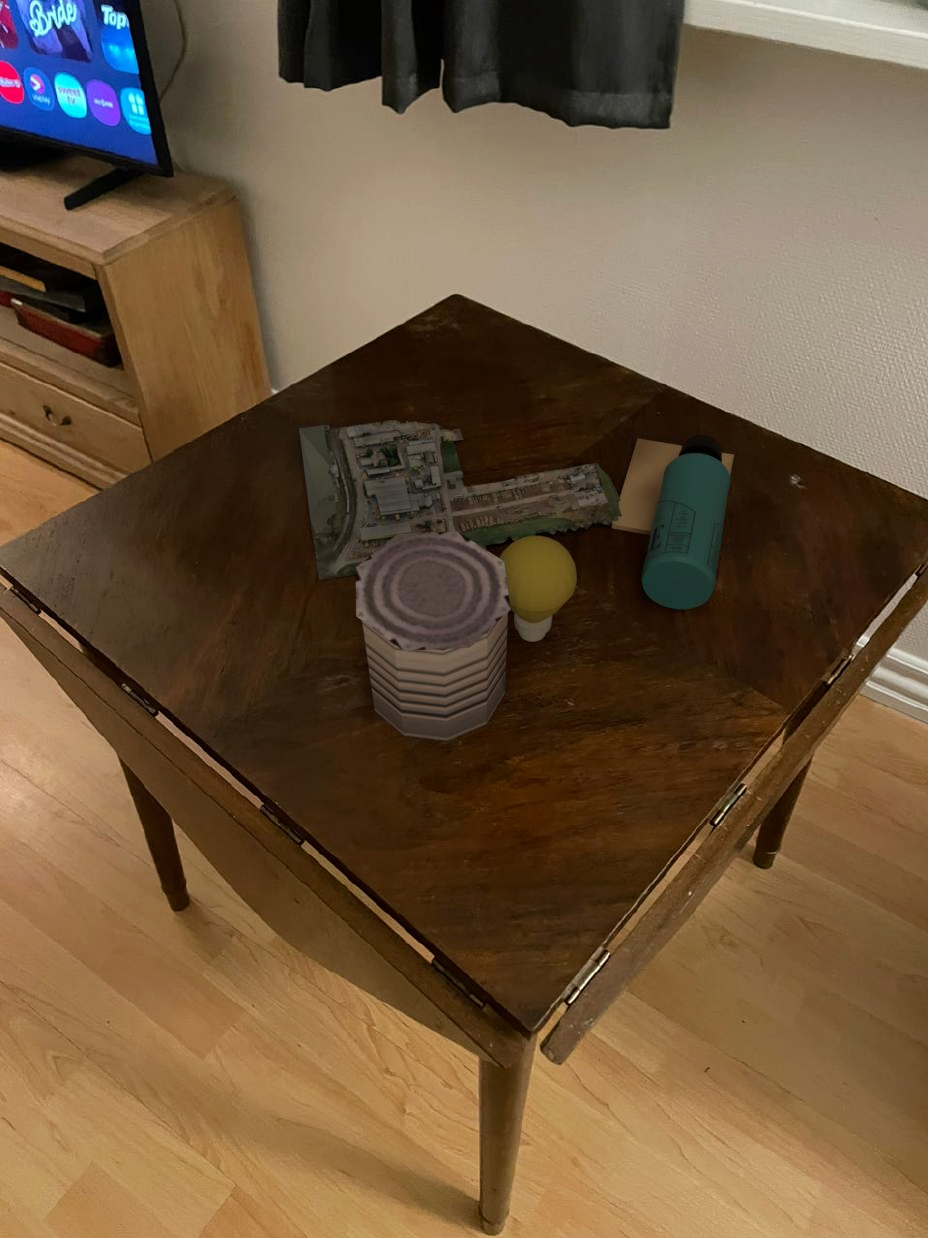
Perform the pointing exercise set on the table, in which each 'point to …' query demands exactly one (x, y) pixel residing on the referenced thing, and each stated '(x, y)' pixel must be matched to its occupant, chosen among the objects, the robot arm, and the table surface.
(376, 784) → the table surface
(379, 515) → the model
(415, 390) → the table surface
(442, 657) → the can
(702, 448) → the beverage bottle
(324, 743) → the table surface
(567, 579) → the light bulb
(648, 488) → the mat
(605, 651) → the table surface
